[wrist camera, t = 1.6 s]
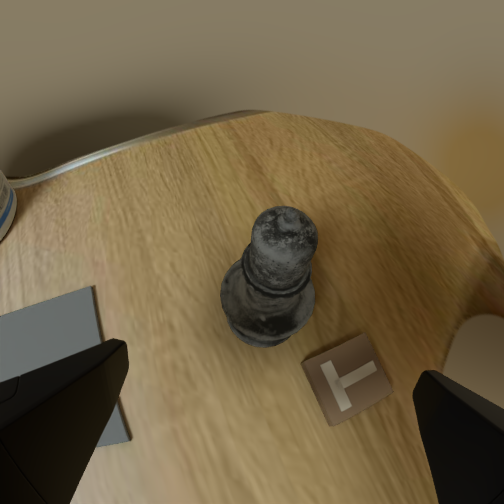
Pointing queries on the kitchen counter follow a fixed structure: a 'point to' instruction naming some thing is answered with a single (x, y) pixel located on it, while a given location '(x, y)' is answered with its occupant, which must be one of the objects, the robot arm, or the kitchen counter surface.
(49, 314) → the slate mat
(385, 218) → the kitchen counter surface
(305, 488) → the kitchen counter surface
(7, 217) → the supplement tub
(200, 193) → the kitchen counter surface
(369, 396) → the letter tile
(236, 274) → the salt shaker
